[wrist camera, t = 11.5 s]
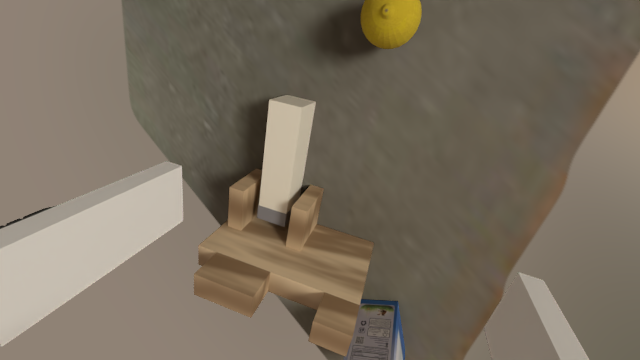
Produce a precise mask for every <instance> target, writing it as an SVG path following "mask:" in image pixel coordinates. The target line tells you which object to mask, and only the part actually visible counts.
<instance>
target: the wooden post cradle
mask: <svg viewBox="0 0 640 360" xmlns="http://www.w3.org/2000/svg"><path fill="white" fill-rule="evenodd" d="M261 179H262V170H259V169H255V170H254V171H252V172H251V173H249V174H248V175H246V176H245V177H243V178H242V179H241V180H239V181H238V182H236V183H235V184H233V185H232V186H230V189H229V210H228V220H227V221H226V222H225V223H224V224H223V225H222V226H220V227H219V228H218V229H217V230H216V231H215V232H214V233H212V234H211V235H210V236H209V237H208V238H206V239H205V240H204V241H203V242H202V243H201V244H200V245H199V265H201V266H202V267H201V268H200V269H199V270H198V271H197V272H196V273H195V274H194V294H195V295H197V296H199V297H202V298H204V299H207V300H209V301H211V302H214V303H216V304H219V305H221V306H224V307H226V308H228V309H231V310H233V311H236V312H238V313H241V314H243V315H246V316H248V317H250V318H251V317H252V315H253V314H254V312H255V311H256V309H257V308H258V306H259V304H260V303H261V301H262V300H263V298H264V297H265V295H266V293H267V292H268V291H269V292H271V293H274V294H276V295H279V296H282V297H284V298H287V299H289V300H292V301H295V302H297V303H300V304H302V305H305V306H307V307H310V308H313V309H315V310H317V312H316V315H315V318H314V320H313V324H312V328H311V332H310V336H309V342H311V343H314V344H316V345H319V346H321V347H323V348H326V349H328V350H331V351H333V352H336V353H338V354H341V355H343V356H345V357H346V355H347V352H348V349H349V346H350V343H351V340H352V337H353V333H354V329H355V324H356V320H357V316H358V311H359V307H360V302H361V298H362V293H363V289H364V285H365V280H366V276H367V271H368V267H369V263H370V258H371V254H372V249H373V245H374V243H373V242H370V241H367V240H364V239H361V238H358V237H355V236H352V235H349V234H346V233H343V232H340V231H336V230H333V229H330V228H327V227H324V226H321V225H318V224H317V219H318V215H319V210H320V205H321V200H322V195H323V190H324V189H323V188H320V187H316V186H313V185H310V186H309V187H308V188H307V189H306V191H305V192H304V193H303V194H302V195H301V197H300V198H299V199H298V200H297V201H296V203H295V204H294V205H293V206H292V209H291V216H290V221H289V222H288V223H287V225H286V226H285V227H283V226H280V225H277V224H274V223H271V222H268V221H265V220H262V219H259V218H257V212H258V205H259V199H260V189H261Z"/></svg>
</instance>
